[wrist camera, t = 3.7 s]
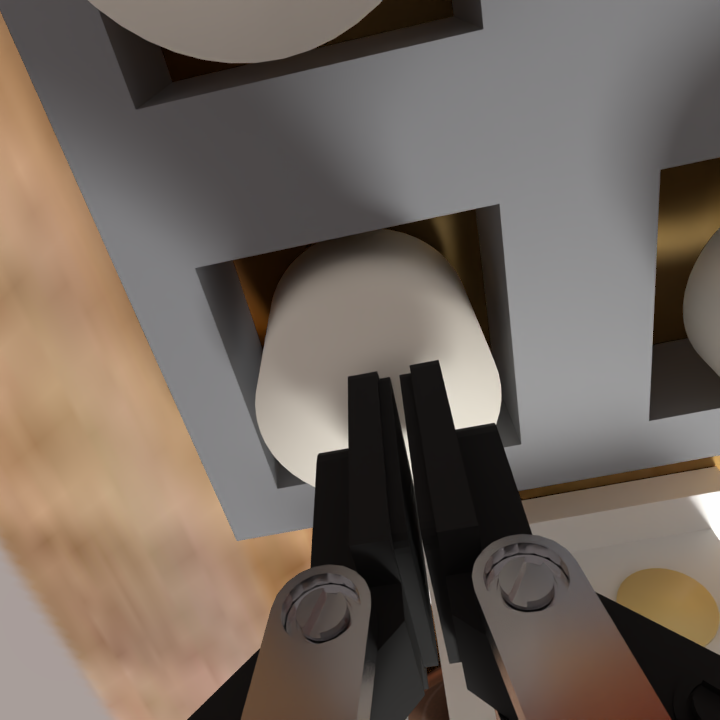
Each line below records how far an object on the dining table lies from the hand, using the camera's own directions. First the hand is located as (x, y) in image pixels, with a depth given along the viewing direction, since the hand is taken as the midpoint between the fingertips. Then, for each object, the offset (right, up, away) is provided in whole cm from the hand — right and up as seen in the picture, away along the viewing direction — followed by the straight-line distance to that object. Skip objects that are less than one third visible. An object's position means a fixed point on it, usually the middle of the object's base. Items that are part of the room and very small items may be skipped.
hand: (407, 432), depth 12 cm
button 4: (-1, +2, +4) cm, 4 cm away
